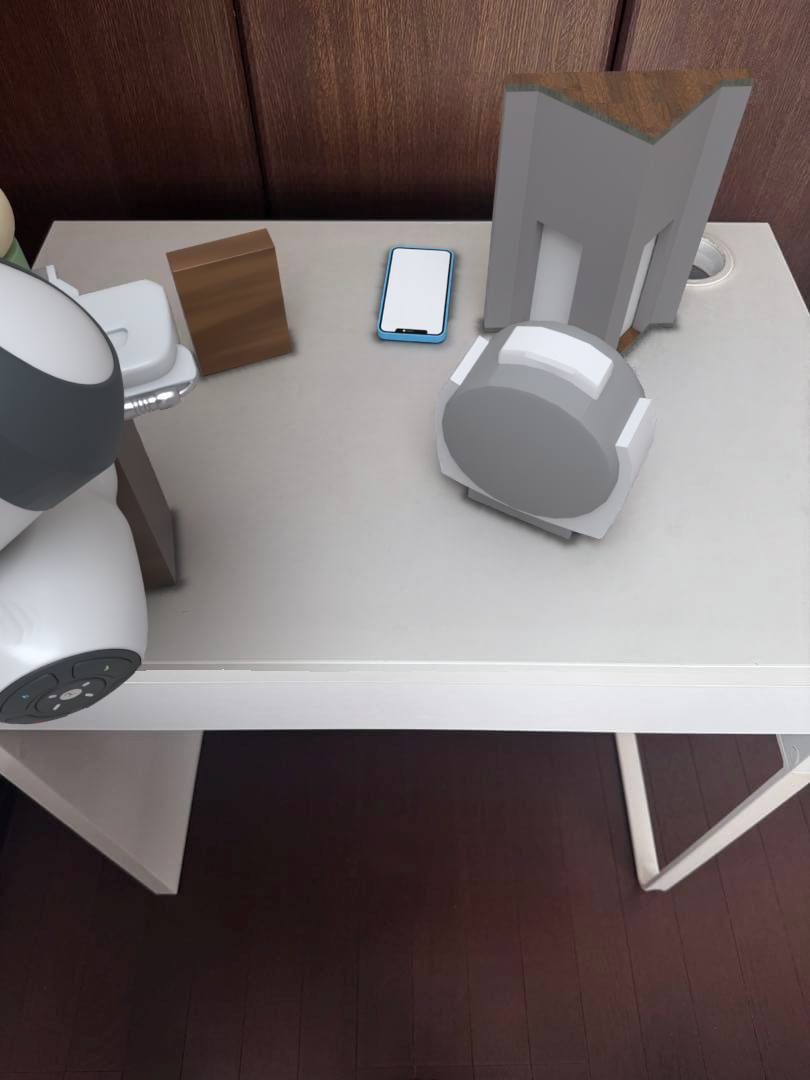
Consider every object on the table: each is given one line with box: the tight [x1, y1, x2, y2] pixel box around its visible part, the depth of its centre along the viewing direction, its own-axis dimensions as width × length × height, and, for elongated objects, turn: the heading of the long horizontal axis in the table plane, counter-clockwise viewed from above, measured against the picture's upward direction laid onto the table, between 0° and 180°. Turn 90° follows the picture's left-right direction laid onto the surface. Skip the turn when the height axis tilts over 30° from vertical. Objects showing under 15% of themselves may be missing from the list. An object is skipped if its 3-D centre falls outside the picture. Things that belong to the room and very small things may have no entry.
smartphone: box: [376, 245, 454, 343], centre depth 99 cm, size 8×1×15 cm
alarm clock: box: [434, 321, 657, 540], centre depth 76 cm, size 18×8×20 cm, turn 62°
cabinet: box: [482, 67, 756, 356], centre depth 83 cm, size 21×10×28 cm, turn 92°
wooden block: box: [165, 227, 293, 377], centre depth 89 cm, size 3×10×14 cm, turn 111°
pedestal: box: [114, 418, 177, 591], centre depth 72 cm, size 8×8×22 cm
